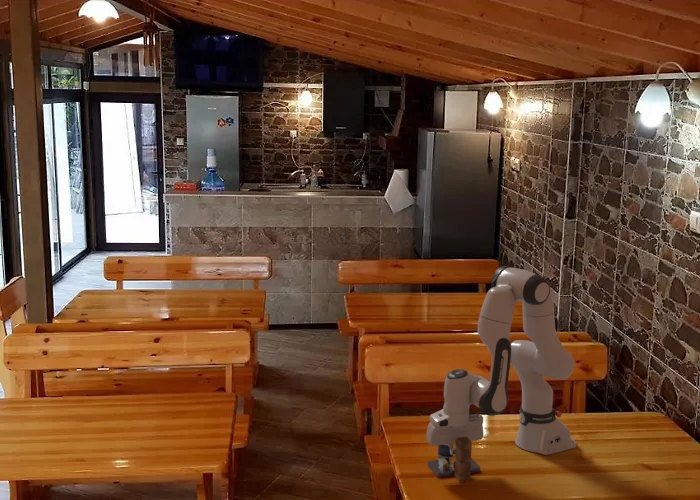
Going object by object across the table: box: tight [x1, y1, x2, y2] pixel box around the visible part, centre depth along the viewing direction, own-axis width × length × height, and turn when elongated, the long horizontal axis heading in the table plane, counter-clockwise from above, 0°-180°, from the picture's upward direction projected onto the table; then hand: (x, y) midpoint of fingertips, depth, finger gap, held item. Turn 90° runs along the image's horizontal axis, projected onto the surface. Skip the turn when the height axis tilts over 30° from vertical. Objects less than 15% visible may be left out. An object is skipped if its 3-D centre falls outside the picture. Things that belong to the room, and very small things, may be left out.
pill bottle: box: [437, 444, 454, 460], centre depth 271 cm, size 5×5×10 cm
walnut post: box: [453, 437, 473, 482], centre depth 257 cm, size 4×4×14 cm
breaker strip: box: [427, 455, 482, 478], centre depth 265 cm, size 16×9×4 cm, turn 106°
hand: (454, 453), depth 264 cm, fingers closed
